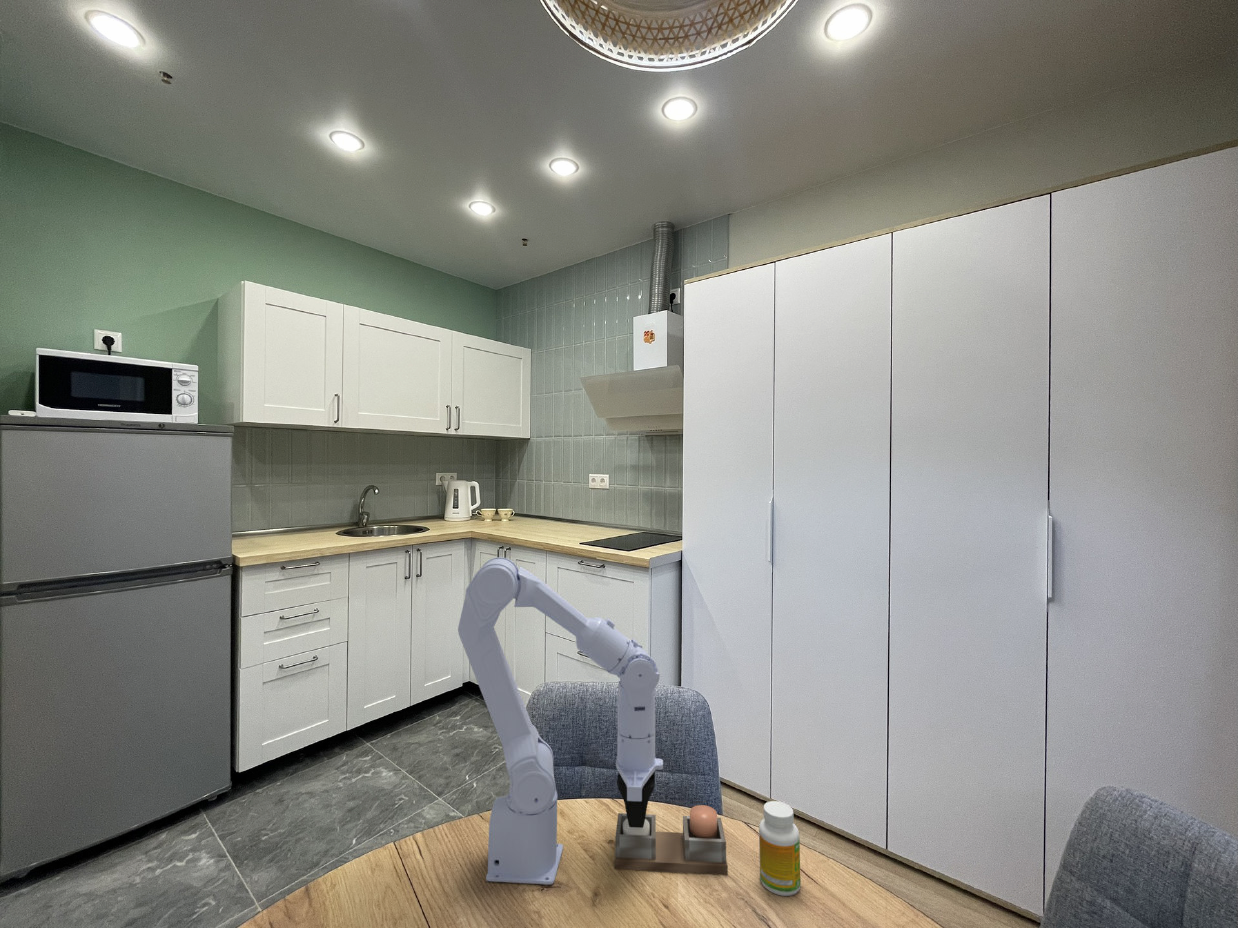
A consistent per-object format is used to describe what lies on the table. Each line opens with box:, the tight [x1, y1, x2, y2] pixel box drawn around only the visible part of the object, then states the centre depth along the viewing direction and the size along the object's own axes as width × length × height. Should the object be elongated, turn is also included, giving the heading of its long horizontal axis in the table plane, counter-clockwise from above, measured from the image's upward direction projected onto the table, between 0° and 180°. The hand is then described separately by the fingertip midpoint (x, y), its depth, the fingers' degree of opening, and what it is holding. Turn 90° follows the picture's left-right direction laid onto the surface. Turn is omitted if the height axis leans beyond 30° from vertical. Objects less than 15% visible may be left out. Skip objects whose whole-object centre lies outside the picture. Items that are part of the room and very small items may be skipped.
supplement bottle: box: [758, 800, 802, 897], centre depth 72 cm, size 5×5×10 cm
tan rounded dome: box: [689, 804, 718, 838], centre depth 77 cm, size 4×4×2 cm
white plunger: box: [623, 819, 650, 836], centre depth 77 cm, size 4×4×2 cm
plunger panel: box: [613, 812, 729, 876], centre depth 77 cm, size 16×7×4 cm, turn 86°
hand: (636, 825), depth 77 cm, fingers closed, pressing on white plunger
